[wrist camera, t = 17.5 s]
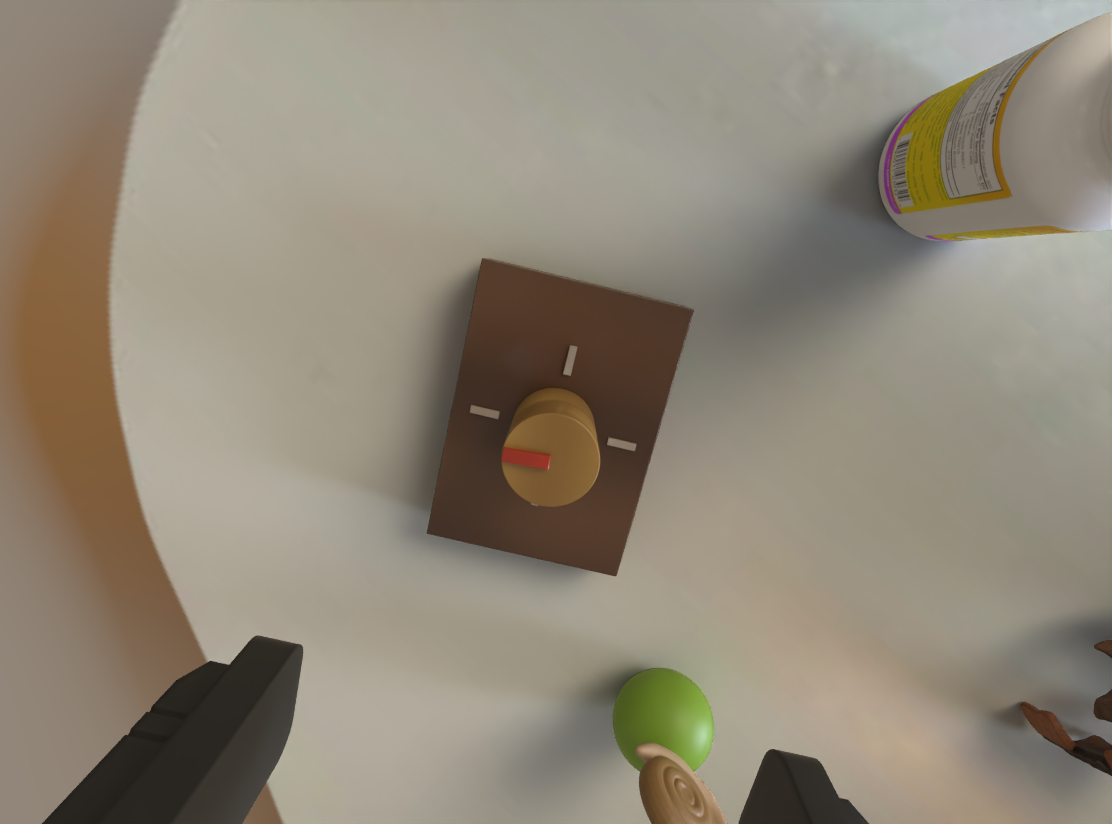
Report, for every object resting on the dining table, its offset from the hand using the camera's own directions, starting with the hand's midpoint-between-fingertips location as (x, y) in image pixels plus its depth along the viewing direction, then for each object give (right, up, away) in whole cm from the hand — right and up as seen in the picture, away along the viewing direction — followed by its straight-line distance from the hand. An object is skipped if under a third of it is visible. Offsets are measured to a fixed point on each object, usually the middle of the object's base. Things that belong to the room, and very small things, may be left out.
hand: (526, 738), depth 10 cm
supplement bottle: (+19, +17, +18) cm, 31 cm away
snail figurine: (+7, -11, +26) cm, 29 cm away
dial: (0, +5, +19) cm, 20 cm away
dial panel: (0, +5, +21) cm, 22 cm away
